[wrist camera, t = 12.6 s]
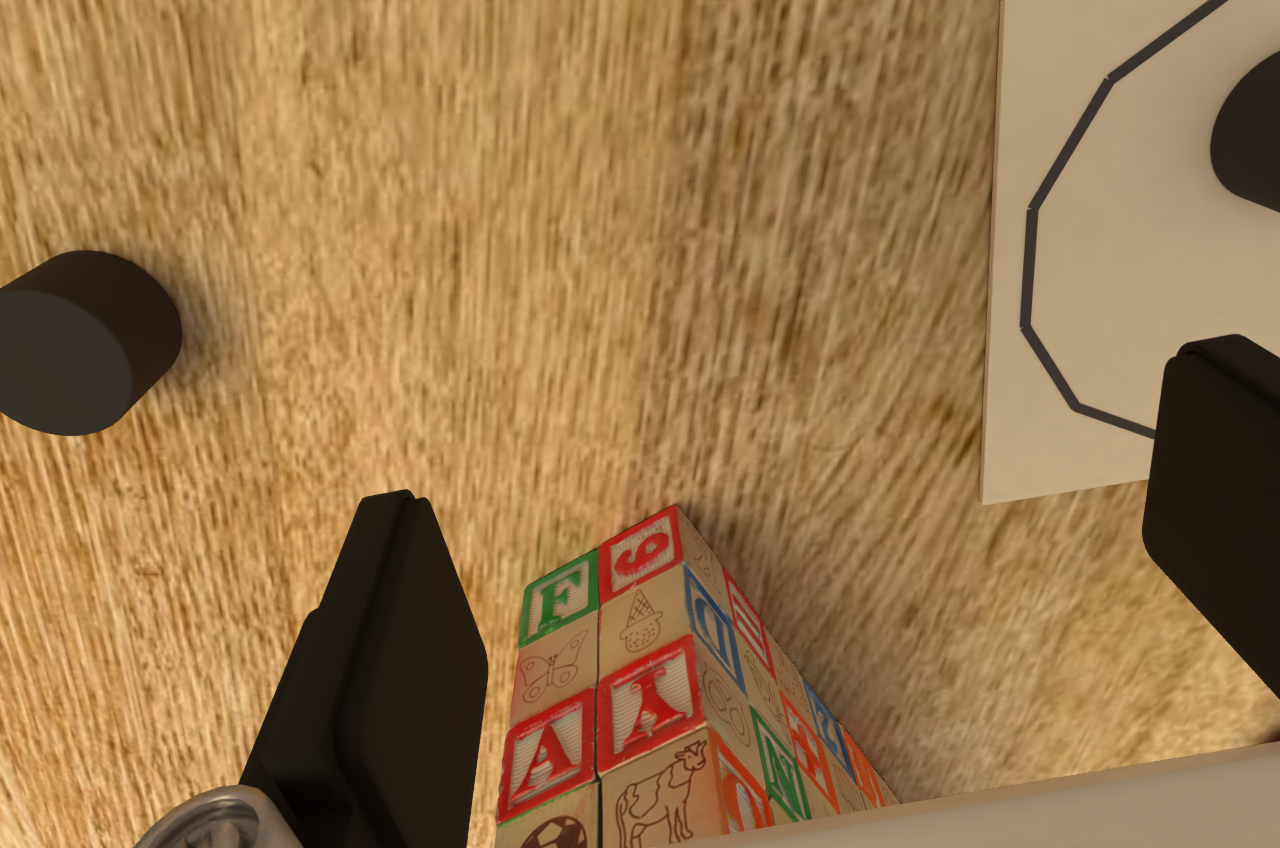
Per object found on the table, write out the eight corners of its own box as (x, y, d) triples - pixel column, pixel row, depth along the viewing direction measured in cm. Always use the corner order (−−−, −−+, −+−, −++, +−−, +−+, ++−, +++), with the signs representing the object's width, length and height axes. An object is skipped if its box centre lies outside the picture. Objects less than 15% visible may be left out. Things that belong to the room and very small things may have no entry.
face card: (1001, -45, 20) (1007, -45, 20) (1647, -163, 20) (1664, -164, 20) (978, 501, 28) (983, 507, 28) (1441, 426, 28) (1451, 432, 28)
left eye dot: (-2, 263, 23) (-78, 305, 20) (144, 238, 23) (86, 276, 20) (72, 395, 25) (10, 448, 22) (206, 372, 25) (160, 423, 22)
